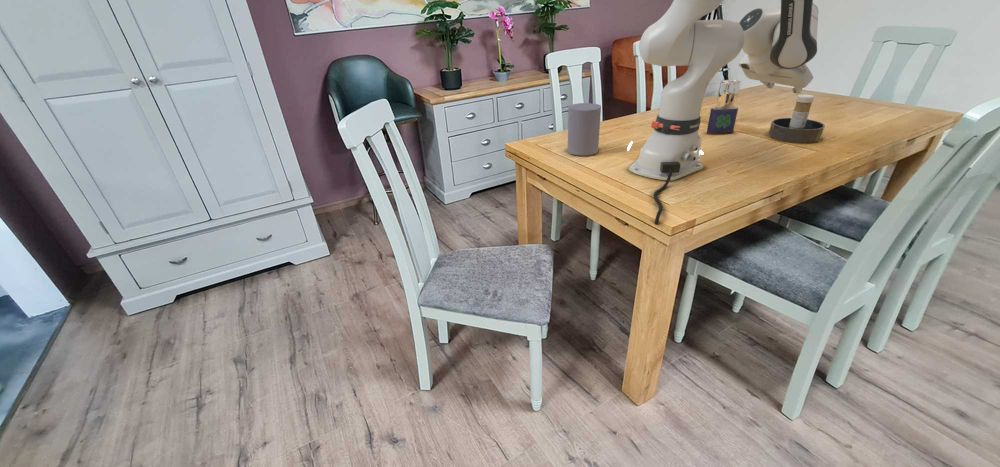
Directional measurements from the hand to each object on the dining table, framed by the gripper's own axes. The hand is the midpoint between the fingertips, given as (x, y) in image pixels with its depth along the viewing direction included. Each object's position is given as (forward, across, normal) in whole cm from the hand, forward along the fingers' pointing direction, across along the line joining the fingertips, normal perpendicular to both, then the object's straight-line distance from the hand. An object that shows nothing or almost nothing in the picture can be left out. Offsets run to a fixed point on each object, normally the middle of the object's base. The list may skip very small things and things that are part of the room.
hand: (784, 88), depth 130 cm
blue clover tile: (+8, +16, +16) cm, 24 cm away
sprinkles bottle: (+20, 0, +4) cm, 21 cm away
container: (-29, +22, +53) cm, 65 cm away
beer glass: (+17, +27, +8) cm, 33 cm away
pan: (+20, 0, +4) cm, 21 cm away
